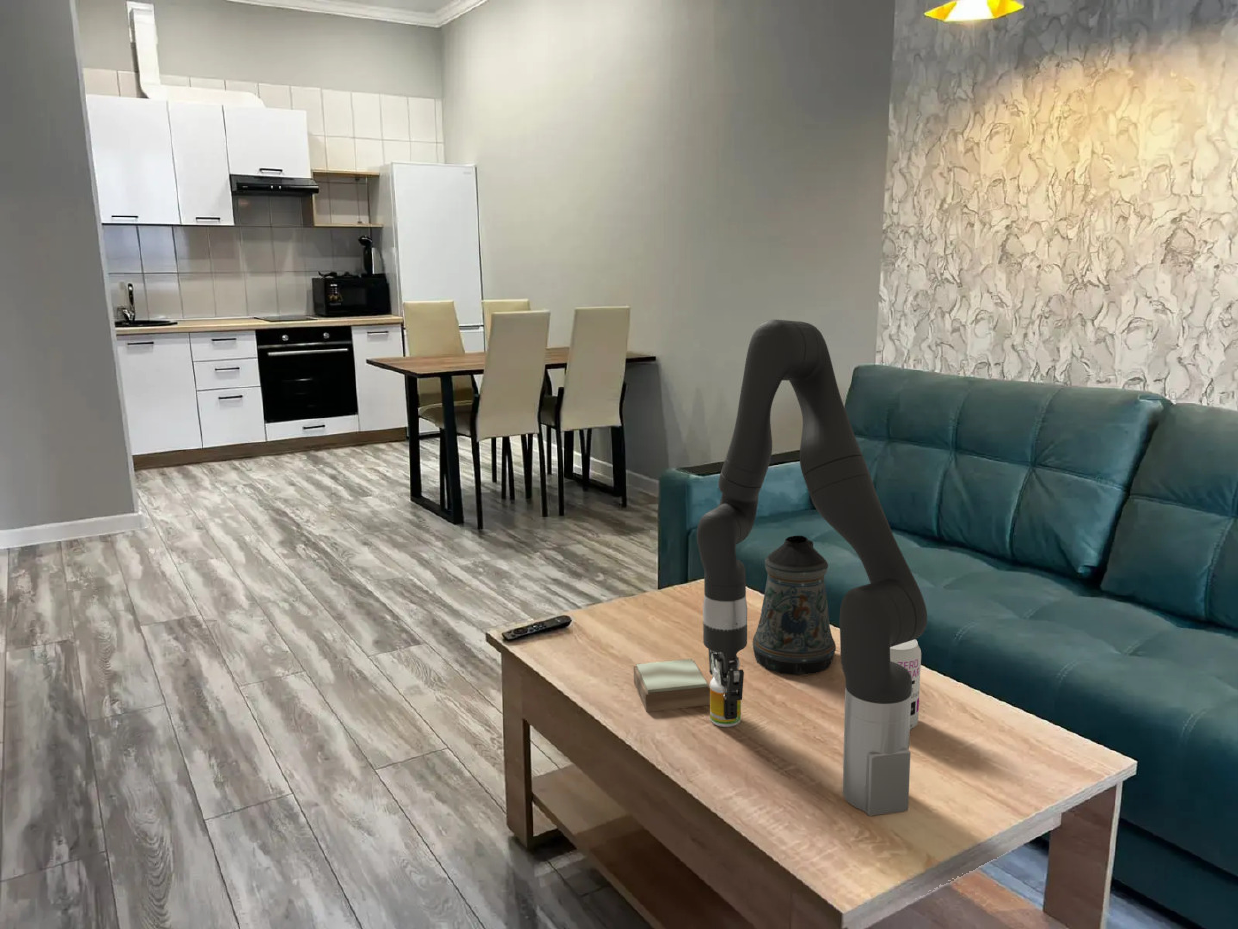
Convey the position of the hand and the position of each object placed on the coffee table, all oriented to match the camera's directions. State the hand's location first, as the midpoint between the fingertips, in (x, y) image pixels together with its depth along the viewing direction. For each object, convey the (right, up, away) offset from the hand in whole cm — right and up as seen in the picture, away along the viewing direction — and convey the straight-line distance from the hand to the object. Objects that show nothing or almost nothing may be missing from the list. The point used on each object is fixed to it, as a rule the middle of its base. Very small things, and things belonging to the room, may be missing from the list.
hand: (725, 709), depth 154 cm
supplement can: (+29, -2, -2) cm, 29 cm away
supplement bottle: (0, -2, 0) cm, 2 cm away
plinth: (-9, 0, +11) cm, 14 cm away
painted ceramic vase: (+17, +4, +26) cm, 31 cm away
